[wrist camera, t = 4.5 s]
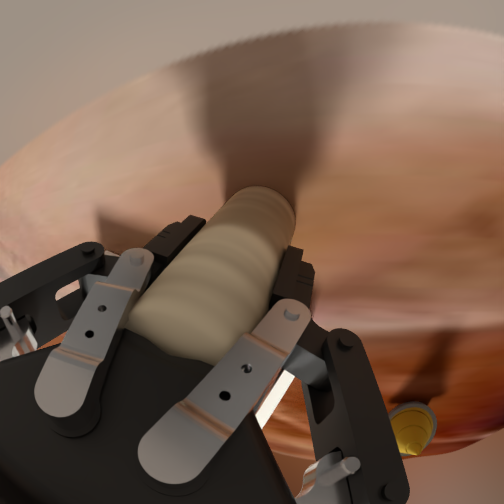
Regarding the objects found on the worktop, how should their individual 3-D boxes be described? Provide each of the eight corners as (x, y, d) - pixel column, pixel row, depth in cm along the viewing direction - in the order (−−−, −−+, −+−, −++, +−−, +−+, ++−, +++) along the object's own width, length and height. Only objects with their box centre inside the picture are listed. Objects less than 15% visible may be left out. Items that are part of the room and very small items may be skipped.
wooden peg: (231, 177, 15) (110, 289, 7) (304, 198, 15) (257, 346, 6) (220, 240, 17) (127, 370, 9) (284, 260, 17) (232, 414, 9)
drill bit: (370, 418, 24) (368, 452, 15) (412, 385, 23) (431, 405, 15) (396, 452, 22) (403, 496, 13) (438, 420, 21) (464, 452, 12)
